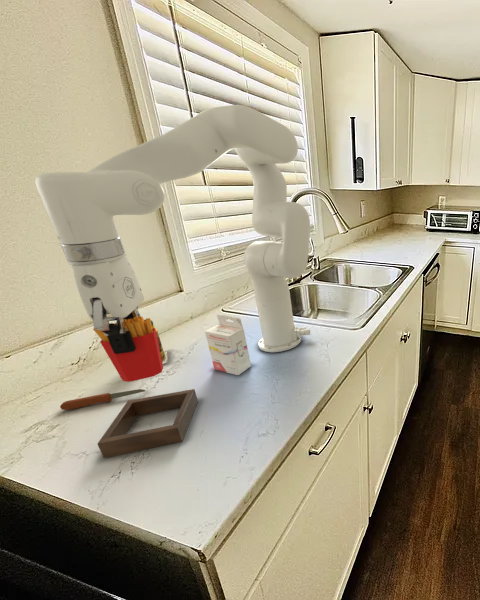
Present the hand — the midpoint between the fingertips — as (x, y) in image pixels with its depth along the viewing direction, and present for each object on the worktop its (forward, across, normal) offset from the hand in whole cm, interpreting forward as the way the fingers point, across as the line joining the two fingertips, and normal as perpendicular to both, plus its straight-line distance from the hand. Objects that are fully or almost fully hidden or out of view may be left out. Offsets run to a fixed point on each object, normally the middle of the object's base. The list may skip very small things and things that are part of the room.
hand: (131, 344), depth 62 cm
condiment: (+20, +29, +12) cm, 37 cm away
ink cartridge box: (+20, +18, -12) cm, 29 cm away
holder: (+19, -1, 0) cm, 19 cm away
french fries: (+7, 0, 0) cm, 7 cm away
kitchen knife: (+19, +12, +14) cm, 27 cm away
